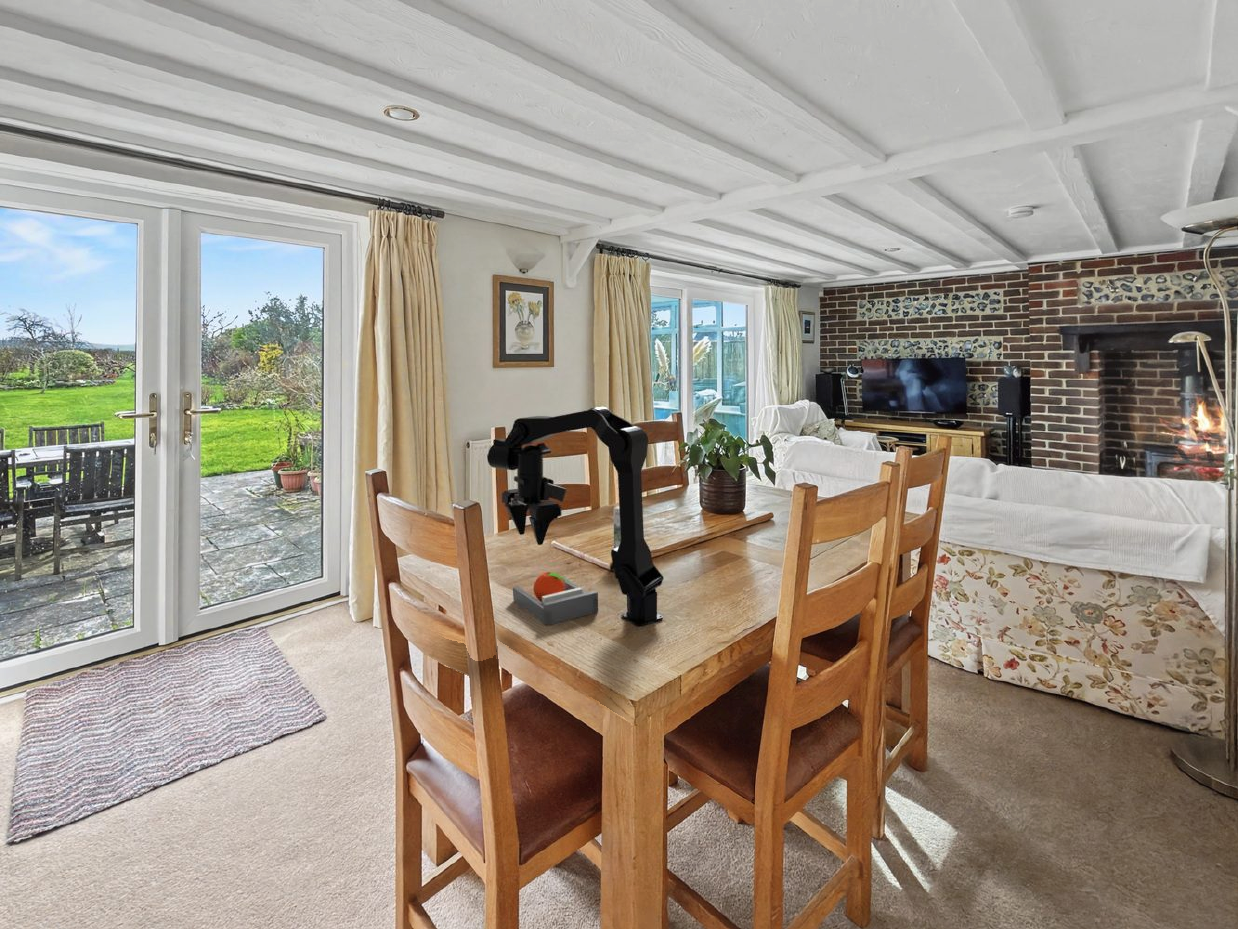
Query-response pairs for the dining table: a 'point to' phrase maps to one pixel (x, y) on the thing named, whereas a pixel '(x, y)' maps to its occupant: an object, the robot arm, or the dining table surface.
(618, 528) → the syrup box
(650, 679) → the dining table surface
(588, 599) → the grey shallow tray
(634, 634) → the dining table surface
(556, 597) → the pusher paddle
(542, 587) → the clementine
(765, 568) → the dining table surface
